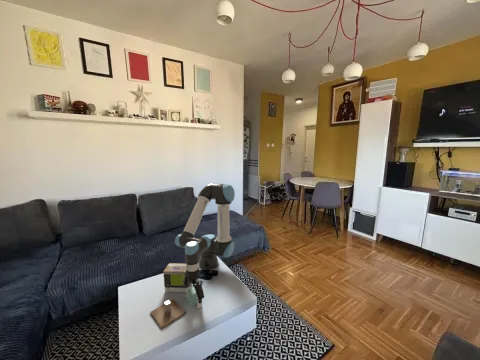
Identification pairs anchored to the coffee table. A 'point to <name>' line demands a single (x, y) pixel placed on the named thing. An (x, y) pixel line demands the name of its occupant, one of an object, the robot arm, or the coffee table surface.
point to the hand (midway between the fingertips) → (194, 301)
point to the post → (167, 307)
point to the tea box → (175, 277)
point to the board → (165, 318)
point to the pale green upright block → (192, 296)
